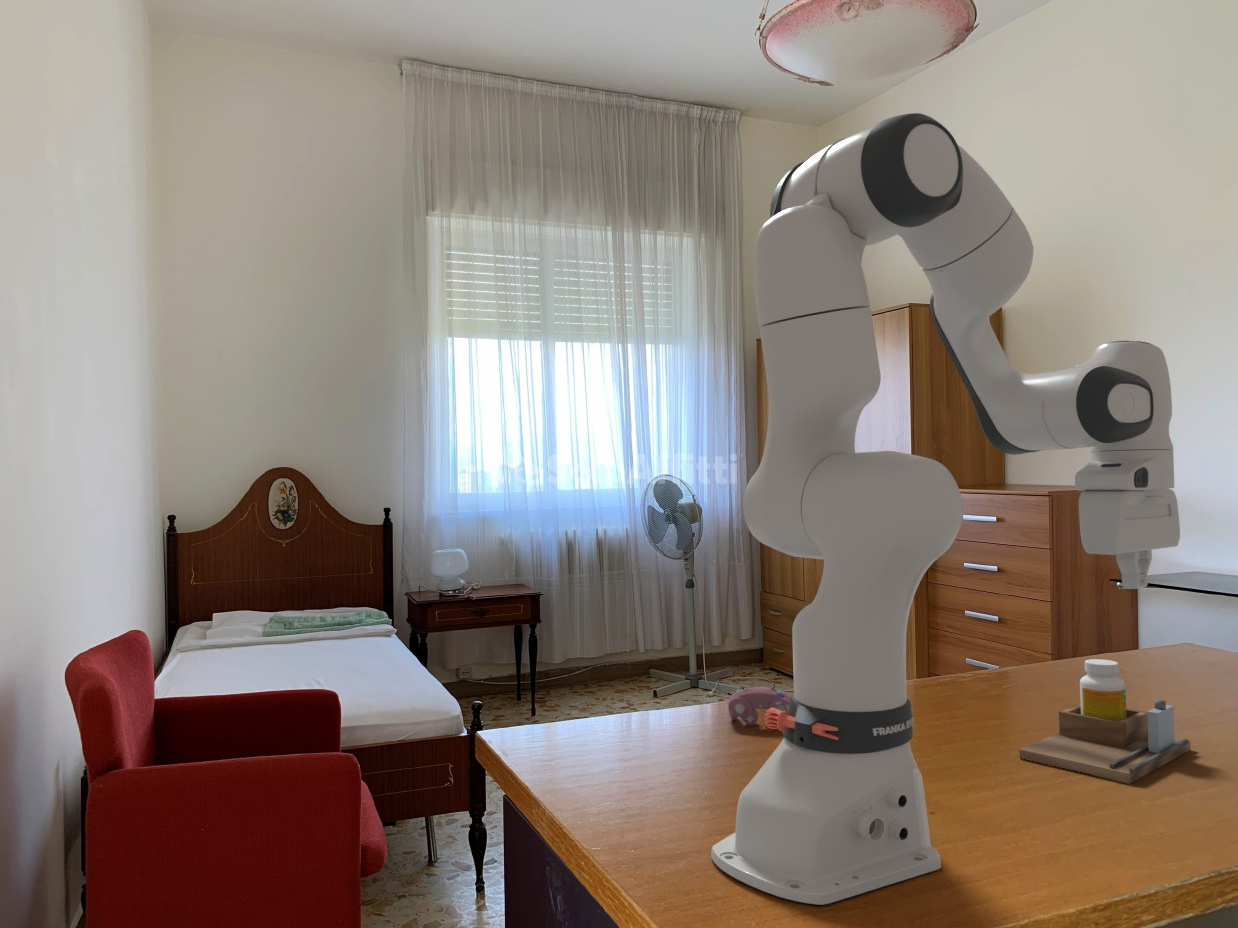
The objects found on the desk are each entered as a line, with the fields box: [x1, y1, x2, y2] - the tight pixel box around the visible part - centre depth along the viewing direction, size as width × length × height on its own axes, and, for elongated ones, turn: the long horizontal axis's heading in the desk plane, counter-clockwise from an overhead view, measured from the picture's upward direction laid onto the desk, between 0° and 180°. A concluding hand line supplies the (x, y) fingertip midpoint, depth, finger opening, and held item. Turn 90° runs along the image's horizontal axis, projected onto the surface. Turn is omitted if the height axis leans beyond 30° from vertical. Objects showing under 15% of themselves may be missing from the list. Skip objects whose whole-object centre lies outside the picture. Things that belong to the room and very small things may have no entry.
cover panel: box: [1146, 699, 1176, 753], centre depth 111 cm, size 5×1×6 cm, turn 129°
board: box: [1019, 703, 1192, 785], centre depth 114 cm, size 19×13×4 cm
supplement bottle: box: [1079, 658, 1127, 721], centre depth 118 cm, size 5×5×10 cm
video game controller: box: [727, 686, 792, 726], centre depth 132 cm, size 10×5×7 cm, turn 78°
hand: (1135, 587), depth 108 cm, fingers closed
